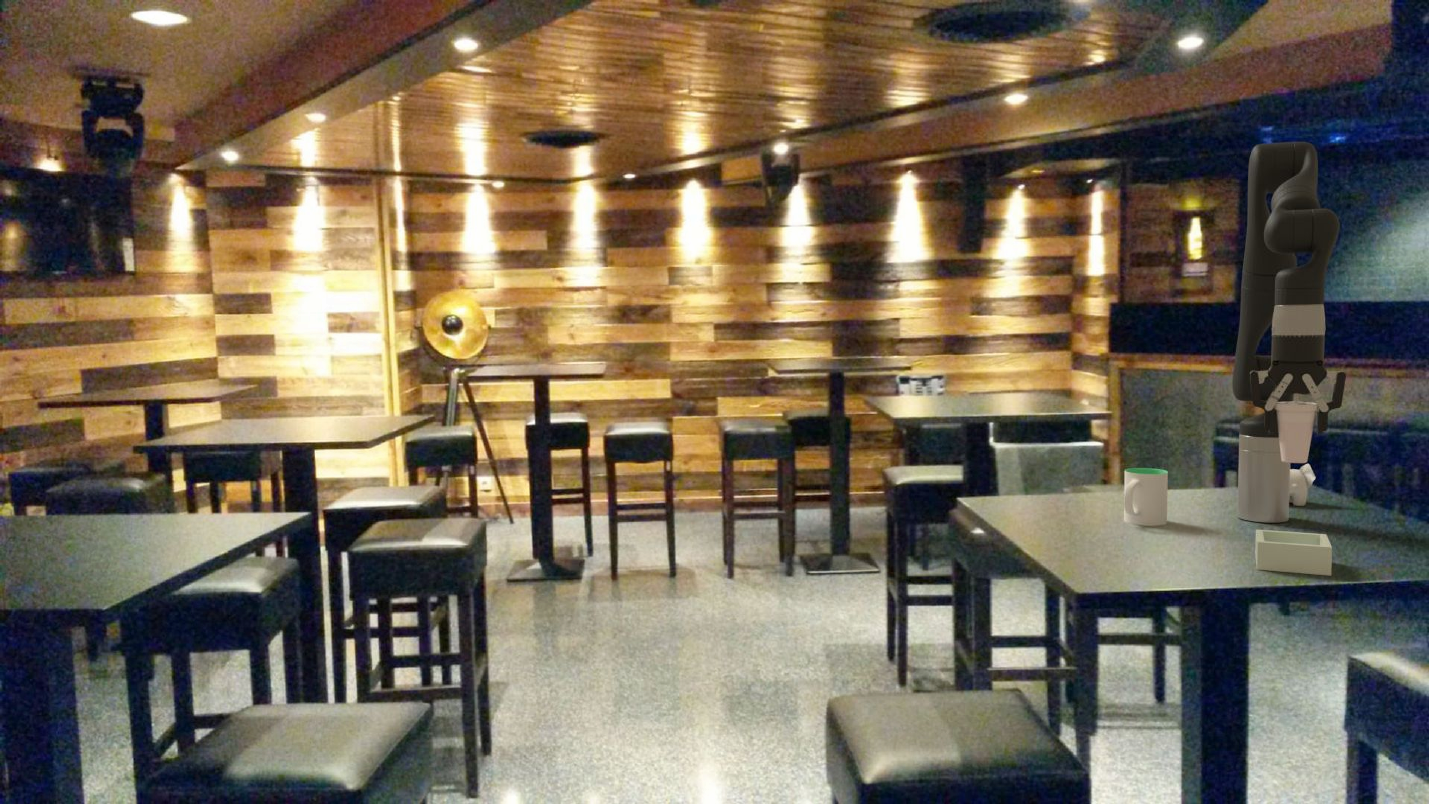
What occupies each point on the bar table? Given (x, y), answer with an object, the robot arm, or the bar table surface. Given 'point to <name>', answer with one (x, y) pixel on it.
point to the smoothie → (1295, 429)
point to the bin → (1293, 552)
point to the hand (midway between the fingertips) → (1295, 433)
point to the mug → (1145, 496)
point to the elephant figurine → (1300, 484)
